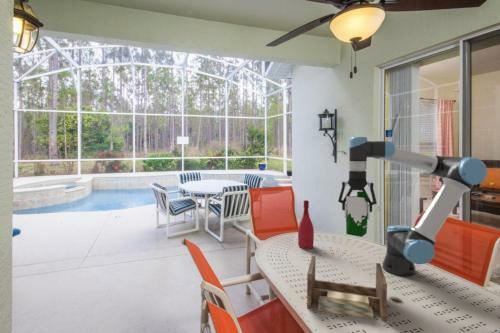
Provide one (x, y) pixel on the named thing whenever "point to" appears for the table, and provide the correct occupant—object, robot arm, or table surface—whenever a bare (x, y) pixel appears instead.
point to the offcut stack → (345, 304)
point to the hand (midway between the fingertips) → (356, 218)
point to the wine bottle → (305, 229)
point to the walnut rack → (349, 289)
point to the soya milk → (356, 214)
